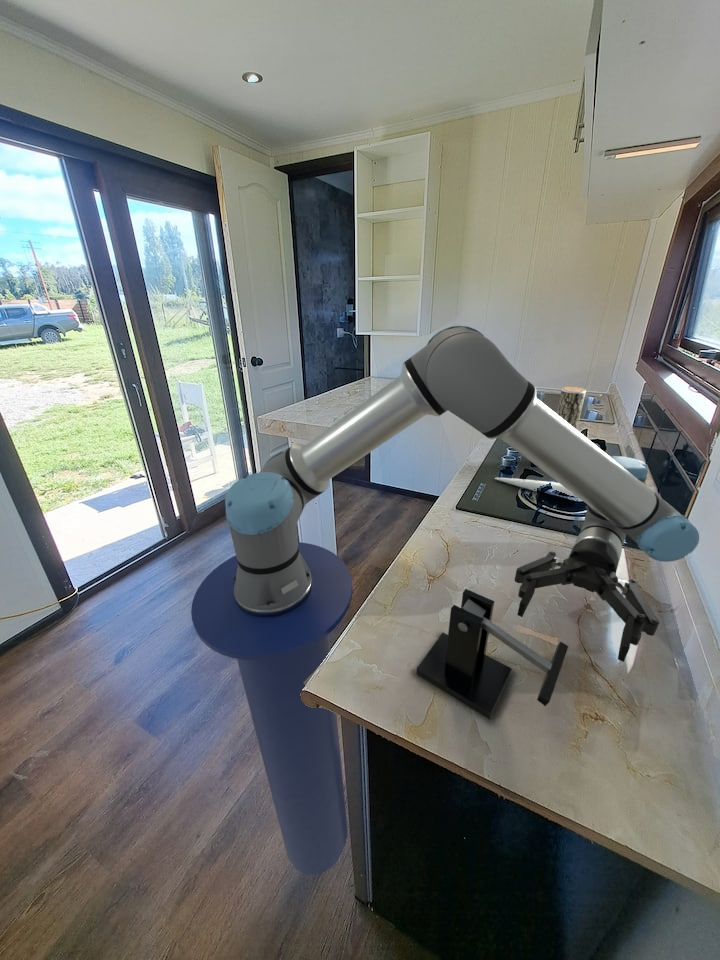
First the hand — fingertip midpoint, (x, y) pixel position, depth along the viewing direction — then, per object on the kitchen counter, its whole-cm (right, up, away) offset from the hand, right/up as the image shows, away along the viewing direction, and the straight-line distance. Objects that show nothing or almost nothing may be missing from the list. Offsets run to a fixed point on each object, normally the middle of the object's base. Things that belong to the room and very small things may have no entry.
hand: (568, 630), depth 56 cm
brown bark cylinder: (+37, +28, +75) cm, 88 cm away
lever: (-10, -1, -2) cm, 11 cm away
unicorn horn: (+22, +19, +57) cm, 64 cm away
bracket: (-14, -9, +5) cm, 17 cm away
